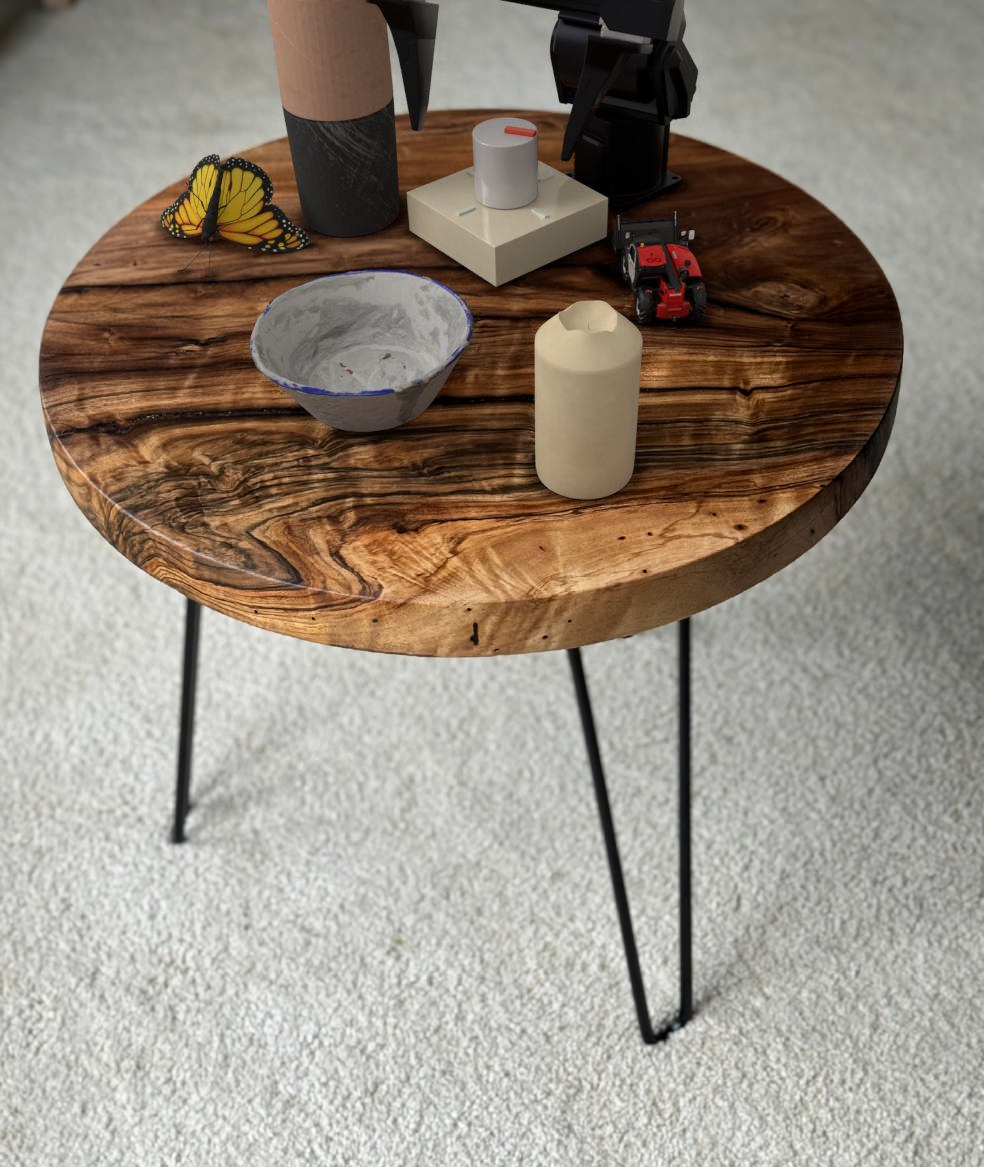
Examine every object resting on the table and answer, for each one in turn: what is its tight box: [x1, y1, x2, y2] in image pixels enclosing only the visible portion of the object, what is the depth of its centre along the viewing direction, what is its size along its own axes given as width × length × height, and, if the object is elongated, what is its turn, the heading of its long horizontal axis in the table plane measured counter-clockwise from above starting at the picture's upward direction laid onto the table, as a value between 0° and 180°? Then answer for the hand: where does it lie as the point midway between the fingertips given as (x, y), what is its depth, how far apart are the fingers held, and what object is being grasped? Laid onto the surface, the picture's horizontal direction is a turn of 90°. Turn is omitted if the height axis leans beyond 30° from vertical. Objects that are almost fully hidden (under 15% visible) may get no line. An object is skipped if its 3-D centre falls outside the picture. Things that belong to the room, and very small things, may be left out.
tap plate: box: [406, 159, 609, 288], centre depth 86 cm, size 10×10×3 cm
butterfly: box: [159, 153, 311, 278], centre depth 86 cm, size 12×9×5 cm
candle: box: [534, 300, 644, 500], centre depth 66 cm, size 6×6×10 cm
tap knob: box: [471, 116, 539, 209], centre depth 84 cm, size 4×4×5 cm
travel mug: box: [266, 0, 400, 238], centre depth 83 cm, size 8×8×20 cm
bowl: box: [249, 269, 475, 433], centre depth 73 cm, size 13×13×5 cm
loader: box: [610, 210, 707, 325], centre depth 80 cm, size 12×5×5 cm, turn 5°
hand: (490, 145), depth 73 cm, fingers open, 9 cm apart
